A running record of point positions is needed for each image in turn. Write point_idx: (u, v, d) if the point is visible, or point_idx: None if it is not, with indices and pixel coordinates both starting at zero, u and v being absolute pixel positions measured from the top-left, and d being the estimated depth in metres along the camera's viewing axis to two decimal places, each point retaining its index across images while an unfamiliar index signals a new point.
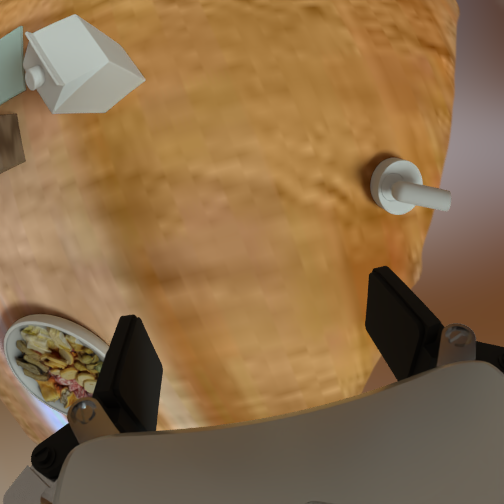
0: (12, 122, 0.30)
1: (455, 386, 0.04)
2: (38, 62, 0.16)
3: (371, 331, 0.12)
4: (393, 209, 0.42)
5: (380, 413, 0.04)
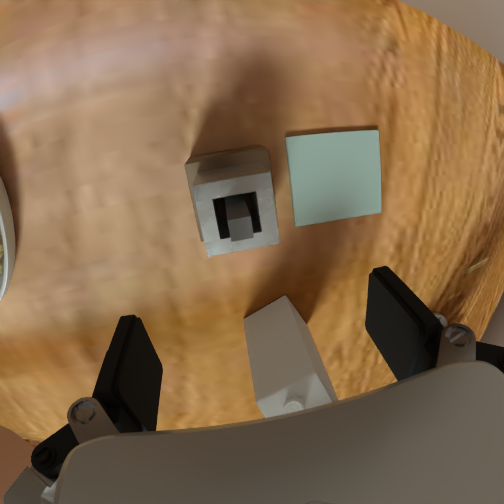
0: None
1: (455, 386, 0.04)
2: (306, 408, 0.28)
3: (371, 331, 0.12)
4: None
5: (380, 412, 0.04)
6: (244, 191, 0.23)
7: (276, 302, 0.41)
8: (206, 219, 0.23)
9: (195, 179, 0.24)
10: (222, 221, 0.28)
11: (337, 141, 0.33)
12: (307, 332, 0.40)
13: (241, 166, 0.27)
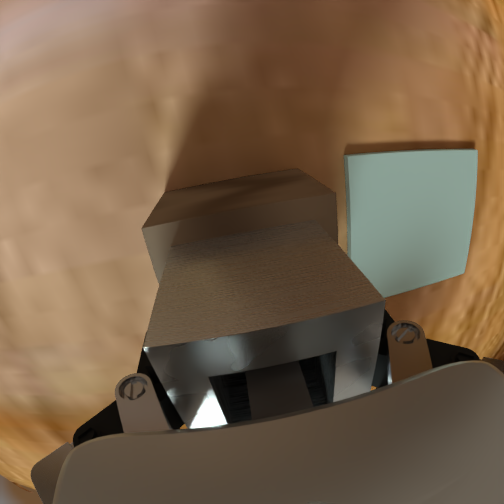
0: None
1: (455, 386, 0.04)
2: None
3: None
4: None
5: (380, 412, 0.04)
6: (304, 355, 0.07)
7: None
8: (196, 411, 0.08)
9: (160, 291, 0.09)
10: None
11: (426, 166, 0.17)
12: None
13: (277, 238, 0.11)
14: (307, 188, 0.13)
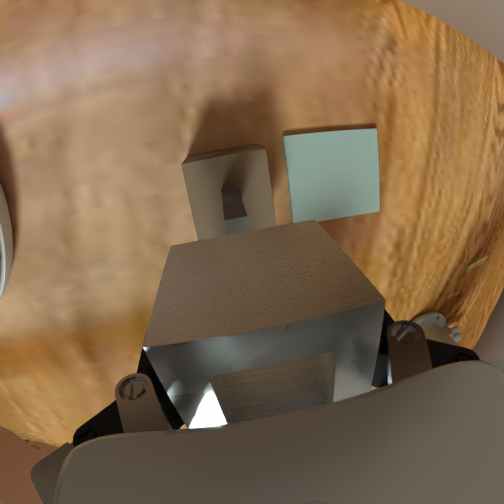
0: None
1: (455, 386, 0.04)
2: None
3: None
4: None
5: (380, 413, 0.04)
6: (304, 354, 0.07)
7: None
8: (196, 410, 0.08)
9: (160, 291, 0.09)
10: None
11: (335, 140, 0.33)
12: None
13: (277, 238, 0.11)
14: (255, 148, 0.28)
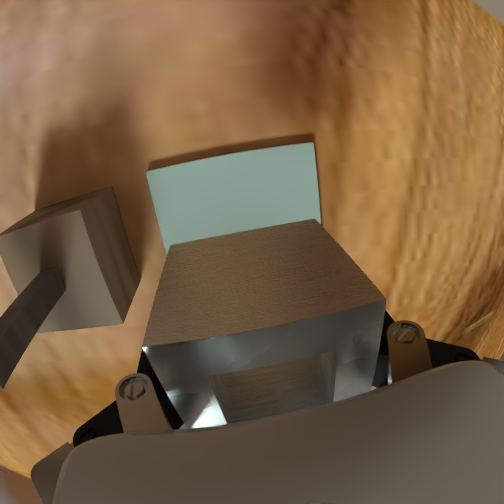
0: None
1: (455, 386, 0.04)
2: None
3: None
4: None
5: (380, 412, 0.04)
6: (304, 354, 0.07)
7: None
8: (196, 410, 0.08)
9: (159, 290, 0.09)
10: None
11: (235, 169, 0.20)
12: None
13: (277, 237, 0.11)
14: (77, 206, 0.16)
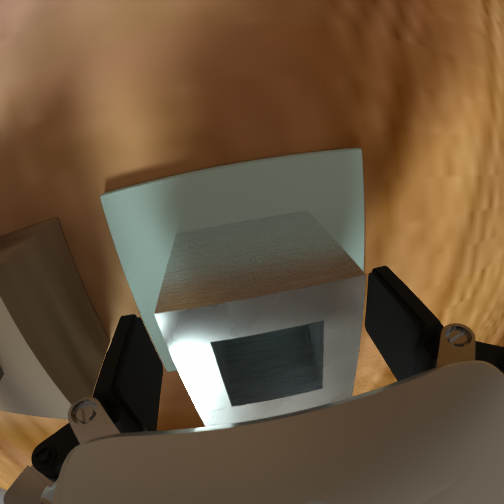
0: None
1: (455, 386, 0.04)
2: None
3: (371, 331, 0.12)
4: None
5: (380, 412, 0.04)
6: (295, 323, 0.09)
7: None
8: (199, 377, 0.09)
9: (168, 269, 0.10)
10: None
11: (239, 190, 0.13)
12: None
13: (273, 225, 0.12)
14: None
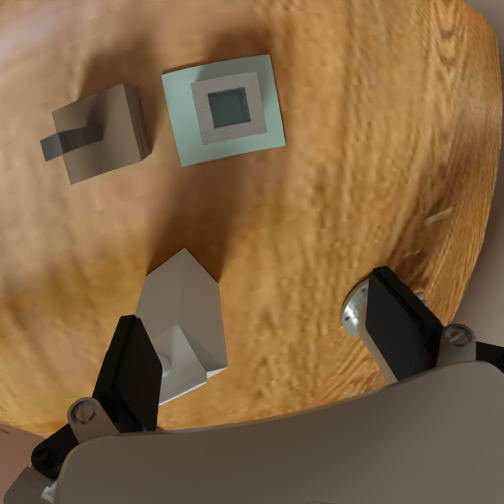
0: None
1: (455, 386, 0.04)
2: (173, 370, 0.24)
3: (371, 331, 0.12)
4: None
5: (380, 412, 0.04)
6: (234, 86, 0.24)
7: (175, 255, 0.37)
8: (202, 110, 0.24)
9: None
10: (215, 126, 0.29)
11: (219, 71, 0.28)
12: (208, 289, 0.36)
13: None
14: None
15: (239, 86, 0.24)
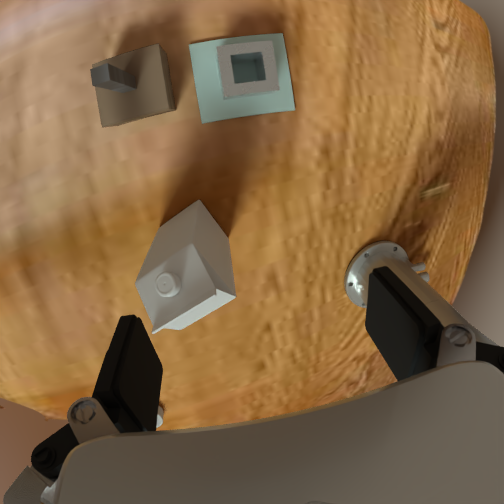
0: (163, 112, 0.33)
1: (455, 386, 0.04)
2: (183, 289, 0.26)
3: (371, 331, 0.12)
4: None
5: (380, 413, 0.04)
6: (253, 51, 0.27)
7: (189, 206, 0.39)
8: (225, 68, 0.27)
9: (217, 51, 0.28)
10: None
11: None
12: (219, 236, 0.38)
13: None
14: None
15: (257, 51, 0.27)
